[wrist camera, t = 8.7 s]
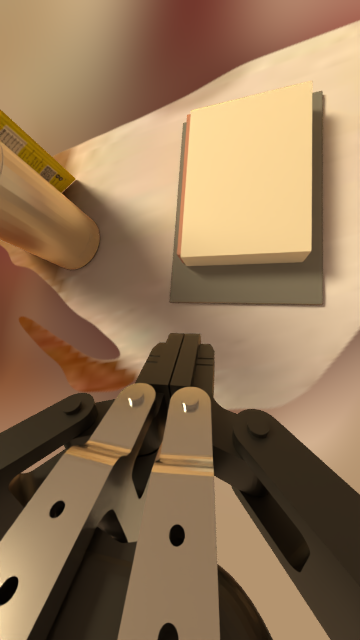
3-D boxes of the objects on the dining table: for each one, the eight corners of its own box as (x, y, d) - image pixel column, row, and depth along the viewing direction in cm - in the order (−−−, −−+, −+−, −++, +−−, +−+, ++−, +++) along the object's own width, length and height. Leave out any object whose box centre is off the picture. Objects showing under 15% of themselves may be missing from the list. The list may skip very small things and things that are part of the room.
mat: (321, 304, 23) (322, 304, 23) (170, 302, 28) (169, 301, 28) (321, 94, 26) (322, 90, 26) (183, 125, 31) (183, 123, 31)
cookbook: (311, 251, 21) (312, 80, 23) (176, 257, 25) (187, 111, 27) (302, 262, 24) (304, 109, 26) (182, 266, 28) (192, 133, 30)
